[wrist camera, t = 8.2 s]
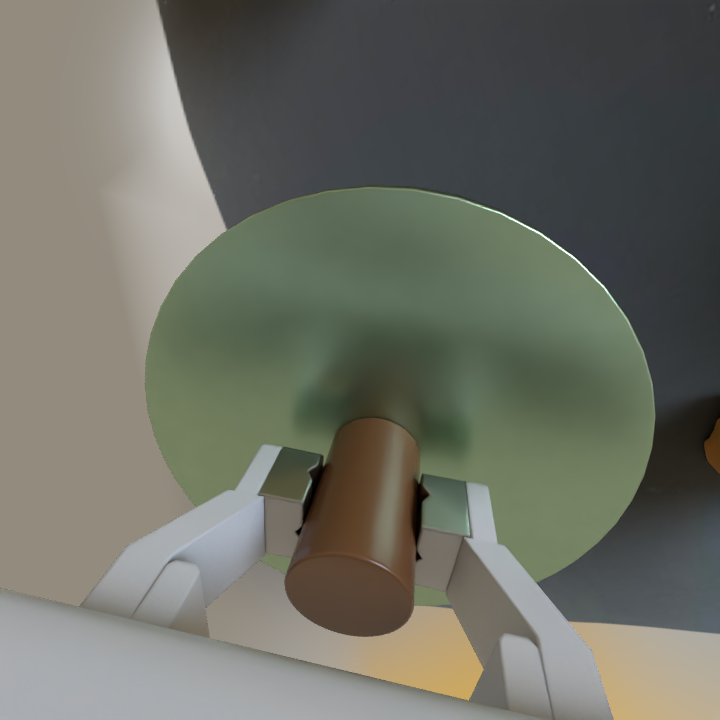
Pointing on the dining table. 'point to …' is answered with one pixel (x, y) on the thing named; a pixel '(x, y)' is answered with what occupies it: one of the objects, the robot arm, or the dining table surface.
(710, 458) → the coffee package
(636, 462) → the tin lid
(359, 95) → the dining table surface
